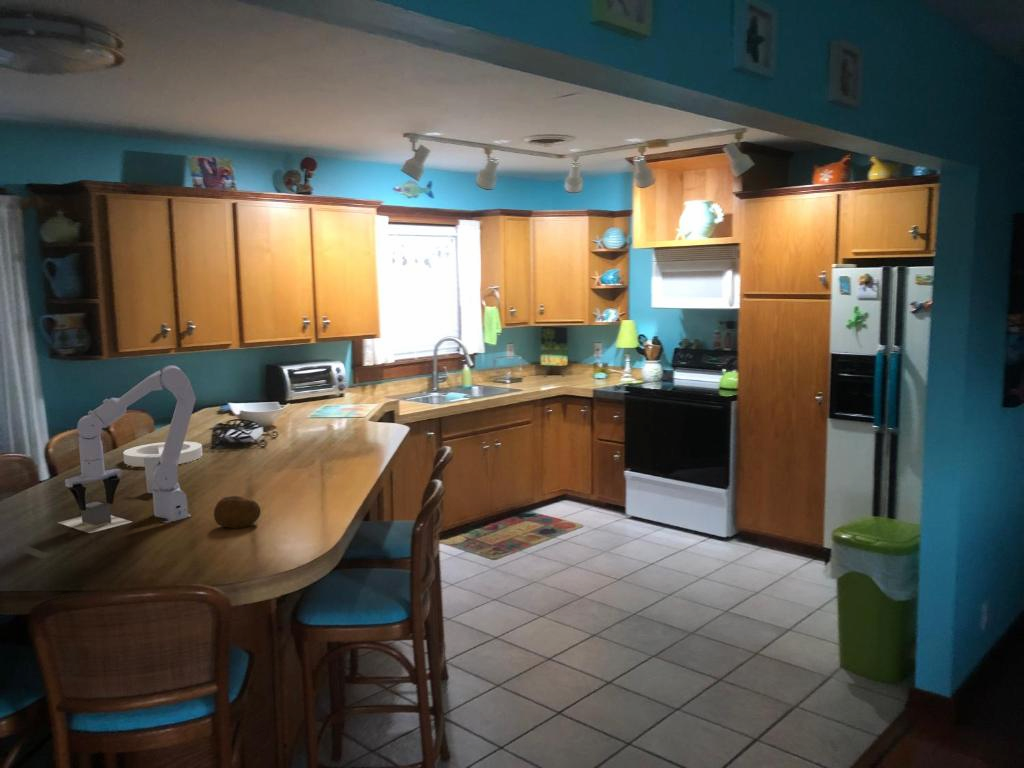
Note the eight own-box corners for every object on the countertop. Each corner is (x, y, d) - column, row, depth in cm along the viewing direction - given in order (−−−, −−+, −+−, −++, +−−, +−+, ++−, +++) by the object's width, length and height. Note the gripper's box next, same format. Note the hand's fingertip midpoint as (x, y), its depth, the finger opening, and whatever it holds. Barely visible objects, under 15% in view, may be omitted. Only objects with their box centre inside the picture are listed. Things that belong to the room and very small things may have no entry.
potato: (252, 531, 214) (250, 500, 213) (209, 532, 214) (206, 501, 213) (262, 522, 223) (260, 492, 222) (220, 522, 223) (218, 492, 221)
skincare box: (170, 489, 260) (167, 453, 259) (165, 493, 256) (163, 456, 254) (151, 490, 260) (148, 454, 258) (146, 494, 255) (143, 457, 254)
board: (133, 525, 221) (132, 521, 221) (90, 537, 211) (89, 533, 211) (99, 516, 231) (99, 511, 231) (57, 526, 222) (56, 522, 221)
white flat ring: (165, 471, 289) (164, 458, 288) (107, 466, 298) (106, 454, 298) (218, 455, 315) (217, 443, 314) (163, 451, 324) (162, 439, 324)
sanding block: (111, 522, 220) (109, 505, 220) (95, 526, 217) (93, 509, 216) (98, 518, 224) (96, 501, 224) (82, 522, 221) (80, 505, 220)
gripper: (110, 452, 226) (114, 498, 228) (57, 462, 214) (62, 510, 216) (123, 455, 222) (127, 501, 224) (70, 465, 210) (75, 514, 212)
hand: (96, 506), depth 220 cm, fingers open, 7 cm apart
